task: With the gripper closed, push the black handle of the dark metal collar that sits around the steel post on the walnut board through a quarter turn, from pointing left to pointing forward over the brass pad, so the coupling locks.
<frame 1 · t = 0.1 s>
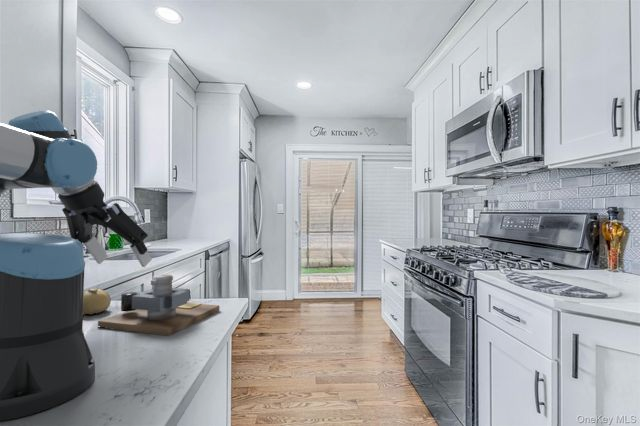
hand: (124, 261, 80), 15 cm above the worktop, tool tilted 35°, fingers open, 13 cm apart
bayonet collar: (151, 301, 82), point 5 cm above the worktop, hinge at 90.0°
onion: (93, 313, 89), on the worktop
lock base: (161, 322, 81), on the worktop
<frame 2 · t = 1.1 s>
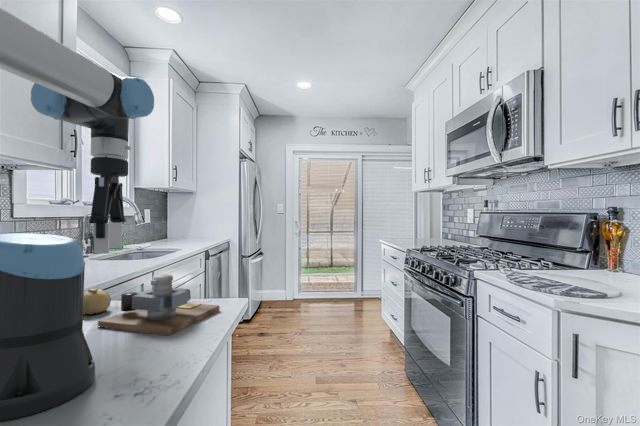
hand: (108, 250, 77), 18 cm above the worktop, tool pointing down, fingers open, 11 cm apart
nothing on the worktop moved.
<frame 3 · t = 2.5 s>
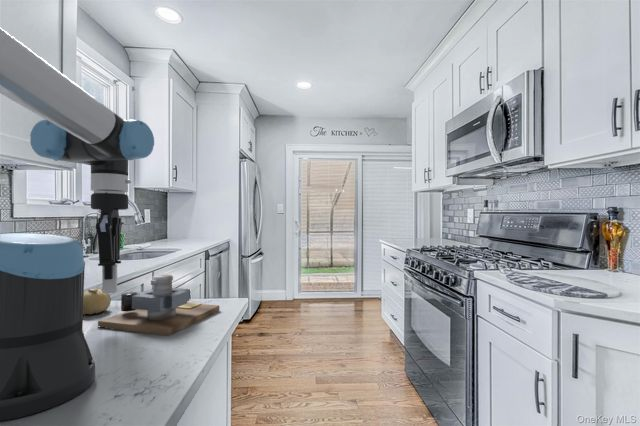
hand: (109, 292, 77), 8 cm above the worktop, tool pointing down, fingers closed
nothing on the worktop moved.
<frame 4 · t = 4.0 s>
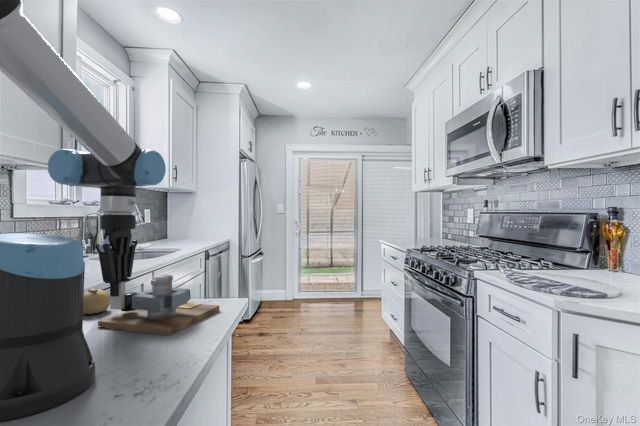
hand: (117, 308, 81), 3 cm above the worktop, tool pointing down, fingers closed
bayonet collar: (151, 301, 82), point 5 cm above the worktop, hinge at 90.0°, touching gripper
everything else where it was.
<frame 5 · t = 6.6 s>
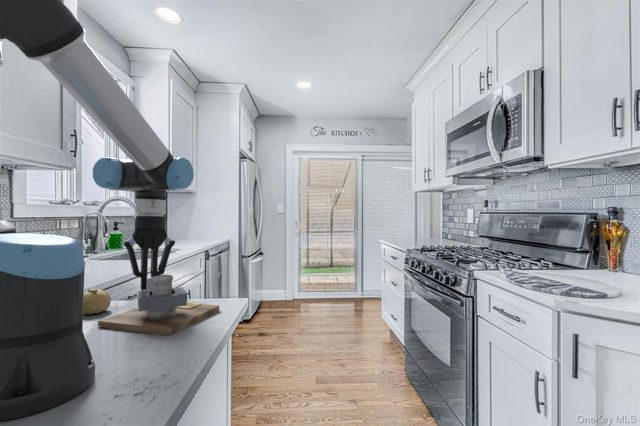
hand: (148, 301, 89), 3 cm above the worktop, tool pointing down, fingers closed
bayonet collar: (160, 299, 84), point 5 cm above the worktop, hinge at 45.4°, touching gripper
everything else where it was.
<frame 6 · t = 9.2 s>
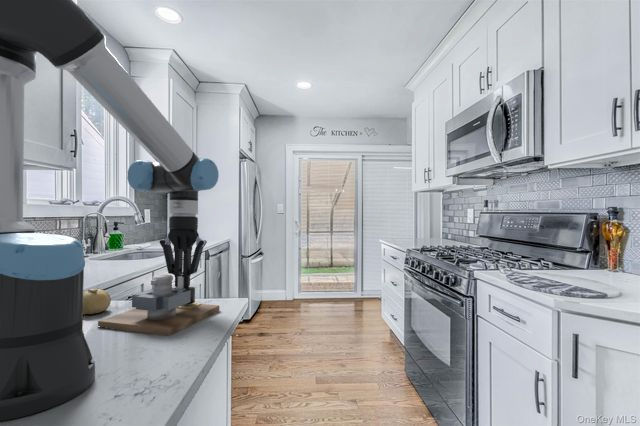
hand: (182, 298, 92), 3 cm above the worktop, tool pointing down, fingers closed
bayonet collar: (171, 299, 84), point 5 cm above the worktop, hinge at 0.3°, touching gripper
everything else where it was.
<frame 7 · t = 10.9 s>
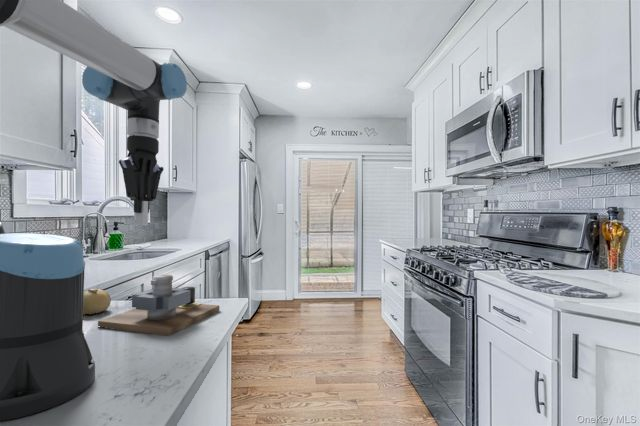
hand: (141, 225, 87), 24 cm above the worktop, tool pointing down, fingers closed
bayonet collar: (171, 299, 84), point 5 cm above the worktop, hinge at 0.3°
everything else where it was.
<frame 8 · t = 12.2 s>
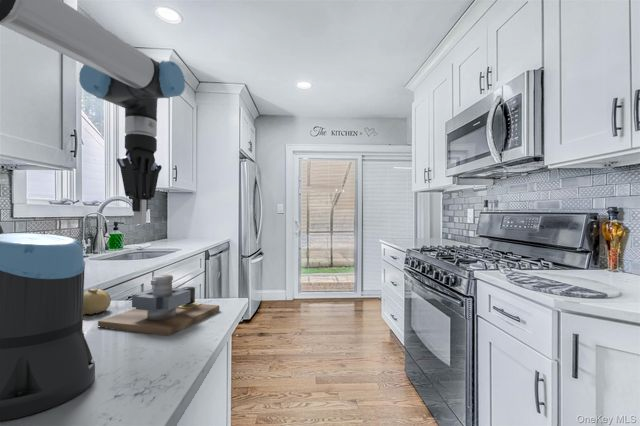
hand: (139, 224, 87), 24 cm above the worktop, tool pointing down, fingers closed
nothing on the worktop moved.
at the end: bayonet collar at +0° (first picture: +90°) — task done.
